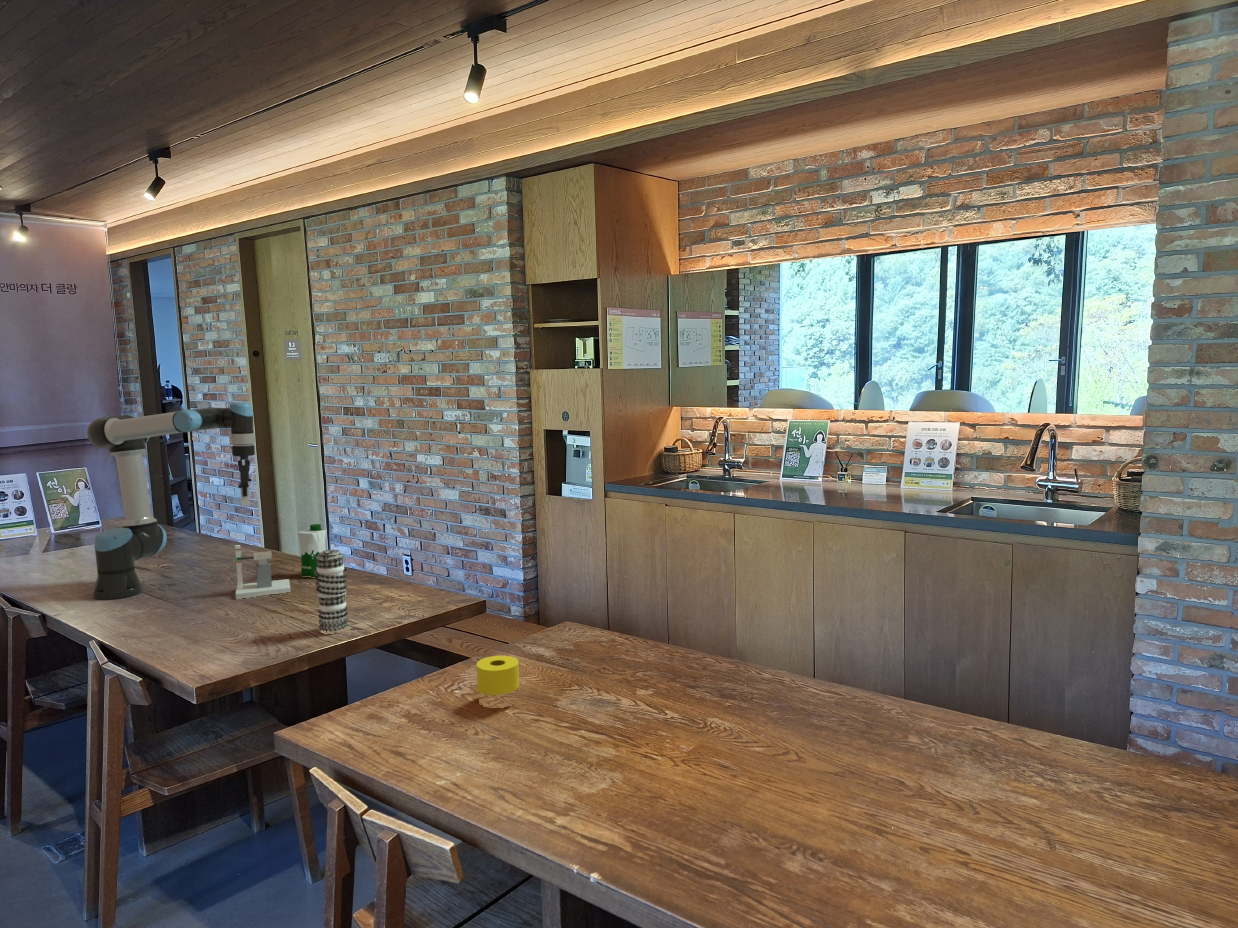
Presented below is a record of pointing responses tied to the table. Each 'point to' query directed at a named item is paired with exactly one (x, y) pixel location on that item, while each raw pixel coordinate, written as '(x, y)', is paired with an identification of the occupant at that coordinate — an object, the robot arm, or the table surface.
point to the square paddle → (260, 557)
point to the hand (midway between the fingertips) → (246, 502)
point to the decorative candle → (331, 590)
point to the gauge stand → (258, 581)
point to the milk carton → (311, 548)
